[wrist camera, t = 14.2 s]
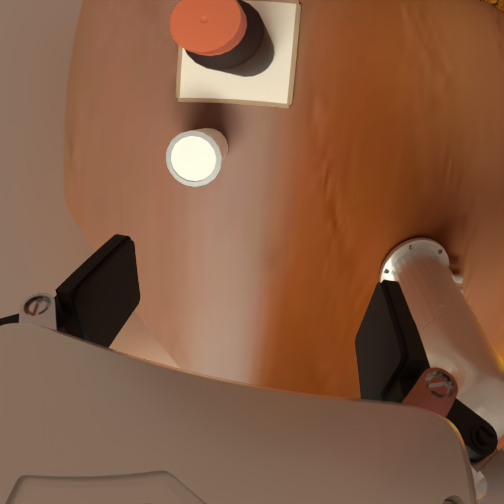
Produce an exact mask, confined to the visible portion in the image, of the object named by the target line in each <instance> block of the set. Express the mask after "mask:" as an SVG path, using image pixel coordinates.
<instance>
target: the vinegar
mask: <svg viewBox="0 0 504 504" xmlns="http://www.w3.org/2000/svg"><path fill="white" fill-rule="evenodd" d="M175 7H176V8H175V9H174V11H172V12H173V13H172V14H171V15H172V16H171V19H170V22H169V23H170V28H171V30H170V31H171V34H172V35H171V36H173V38H174V40H175V41H176V43H178V45H180V46H181V47H182V48H184V49H185V51H186V53H187V55H188V56H189V57H190V58H191V59H192V60H193V61H194V62H195V63H197V64H199V65H201V66H203V67H205V68H207V69H212V70H216V71H221V72H225V73H229V74H233V75H237V76H242V77H251V76H255V75H258V74H261V73H262V72H264V71H265V70H266V69H267V68H268V67H269V66H270V64H271V63H272V61H273V58H274V54H275V53H274V45H273V43H272V41H271V38H270V36H269V34H268V31H267V29H266V27H265V24H264V22H263V20H262V18H261V16H260V14H259V12H258V11H257V10H256V9H255V8H254V7H253V6H251V5H250V4H249V3H247V2H245V1H243V0H182V1H181V2H179V3H178V4H177V6H175Z"/></svg>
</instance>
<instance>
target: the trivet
mask: <svg viewBox="0 0 504 504" xmlns="http://www.w3.org/2000/svg"><path fill="white" fill-rule="evenodd" d="M243 1H245V2H247V3H249V4H250V5H251V6H253V7H254V8H255V9H256V10H257V11H258V12H259V14H260V16H261V18H262V20H263V22H264V24H265V27H266V29H267V31H268V34H269V36H270V38H271V41H272V43H273V45H274V53H275V54H274V58H273V61H272V63H271V64H270V66H269V67H268V68H267V69H266V70H265V71H264V72H262V73H261V74H258V75H255V76H251V77H242V76H237V75H233V74H229V73H225V72H221V71H216V70H212V69H207V68H205V67H203V66H201V65H199V64H197V63H195V62H194V61H193V60H192V59H191V58H190V57H189V56H188V55H187V53H186V51H185V49H184V48H182V47H181V46H180V45H179V49H178V64H177V82H176V98H178V102H208V103H231V104H246V105H259V106H270V107H279V108H288V109H289V104H292V97H293V87H294V77H295V67H296V56H297V45H298V34H299V23H300V11H301V5H300V4H299V0H243Z"/></svg>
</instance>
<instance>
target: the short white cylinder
mask: <svg viewBox="0 0 504 504" xmlns="http://www.w3.org/2000/svg"><path fill="white" fill-rule="evenodd" d="M227 152H228V144H227V140H226V138H225V137H224V136H223V134H222V133H221V132H219V131H217V130H215V129H211V128H203V129H197V130H191V131H187V132H184V133H180V134H179V135H178V136H176V137H175V138H174V139H173V140H172V141H171V143H170V145H169V147H168V149H167V154H166V162H167V166H168V169H169V171H170V173H171V174H172V175H173V176H174V178H175V179H176V180H178V181H179V182H181V183H183V184H184V185H188V186H194V187H197V186H202V185H206V184H208V183H209V182H210V181H212V180H213V179H214V178H215V177H216V175H217V174H218V172H219V170H220V169H221V167H222V164H223V162H224V160H225V158H226V156H227Z"/></svg>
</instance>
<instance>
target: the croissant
mask: <svg viewBox="0 0 504 504" xmlns="http://www.w3.org/2000/svg"><path fill="white" fill-rule="evenodd" d="M480 1H482V0H480ZM483 1H485V2H487V3H491V5H493V6H494V7H495V8H496V9H499V10H501V11H503V12H504V0H483Z"/></svg>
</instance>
